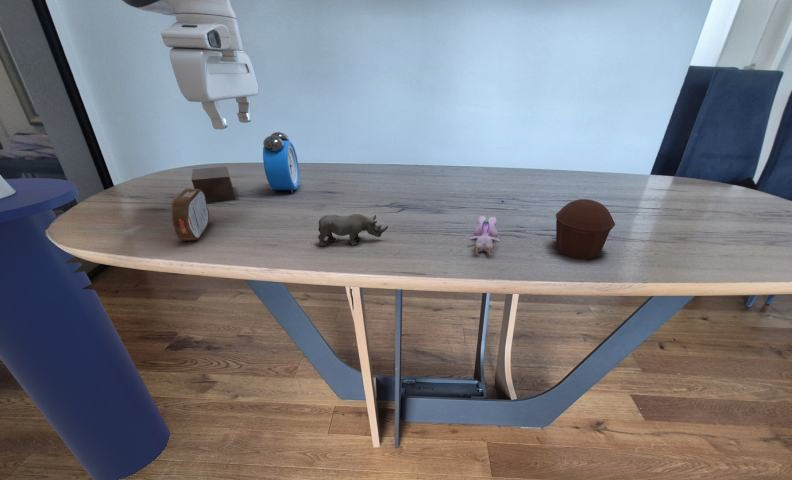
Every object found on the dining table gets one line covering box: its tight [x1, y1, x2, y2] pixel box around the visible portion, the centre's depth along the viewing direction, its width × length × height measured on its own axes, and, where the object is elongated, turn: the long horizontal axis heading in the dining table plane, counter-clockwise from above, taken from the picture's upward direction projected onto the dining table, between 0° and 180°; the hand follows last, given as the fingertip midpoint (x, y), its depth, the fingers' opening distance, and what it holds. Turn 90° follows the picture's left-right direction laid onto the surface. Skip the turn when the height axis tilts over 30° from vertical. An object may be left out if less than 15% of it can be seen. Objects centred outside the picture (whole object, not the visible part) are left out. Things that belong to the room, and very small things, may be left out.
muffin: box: [555, 198, 616, 260], centre depth 73 cm, size 12×11×10 cm
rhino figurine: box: [317, 213, 389, 247], centre depth 74 cm, size 4×14×6 cm, turn 101°
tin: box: [170, 187, 210, 242], centre depth 74 cm, size 15×3×8 cm, turn 19°
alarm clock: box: [262, 131, 300, 194], centre depth 101 cm, size 13×6×15 cm, turn 11°
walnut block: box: [191, 166, 237, 204], centre depth 97 cm, size 8×12×6 cm, turn 31°
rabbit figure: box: [468, 215, 501, 256], centre depth 76 cm, size 6×6×15 cm
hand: (234, 125), depth 69 cm, fingers open, 8 cm apart
